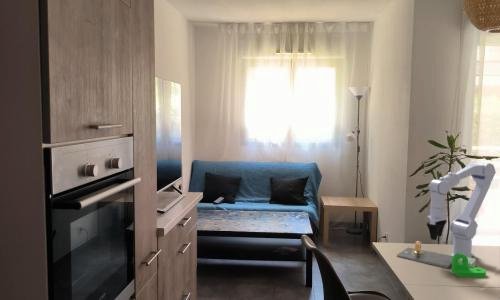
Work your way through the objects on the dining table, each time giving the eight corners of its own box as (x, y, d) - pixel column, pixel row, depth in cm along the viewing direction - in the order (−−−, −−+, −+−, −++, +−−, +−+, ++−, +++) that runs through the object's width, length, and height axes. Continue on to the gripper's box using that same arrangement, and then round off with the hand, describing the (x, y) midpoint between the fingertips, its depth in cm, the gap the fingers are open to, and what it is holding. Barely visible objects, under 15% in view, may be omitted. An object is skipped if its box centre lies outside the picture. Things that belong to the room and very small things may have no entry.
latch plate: (407, 249, 207) (408, 246, 207) (456, 259, 194) (457, 256, 194) (396, 257, 196) (396, 254, 195) (448, 268, 182) (448, 265, 182)
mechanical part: (458, 277, 173) (459, 257, 172) (451, 272, 179) (452, 252, 178) (488, 277, 173) (490, 258, 173) (480, 272, 179) (481, 253, 179)
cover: (457, 263, 191) (457, 254, 190) (475, 266, 186) (475, 258, 186) (452, 268, 183) (453, 260, 183) (470, 272, 179) (471, 263, 179)
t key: (414, 254, 196) (414, 244, 195) (415, 250, 202) (416, 240, 201) (419, 255, 195) (420, 245, 194) (421, 251, 201) (421, 241, 200)
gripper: (432, 203, 200) (431, 232, 201) (423, 208, 189) (421, 239, 190) (449, 205, 196) (447, 235, 197) (440, 210, 184) (438, 242, 185)
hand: (436, 237), depth 193 cm, fingers open, 7 cm apart
